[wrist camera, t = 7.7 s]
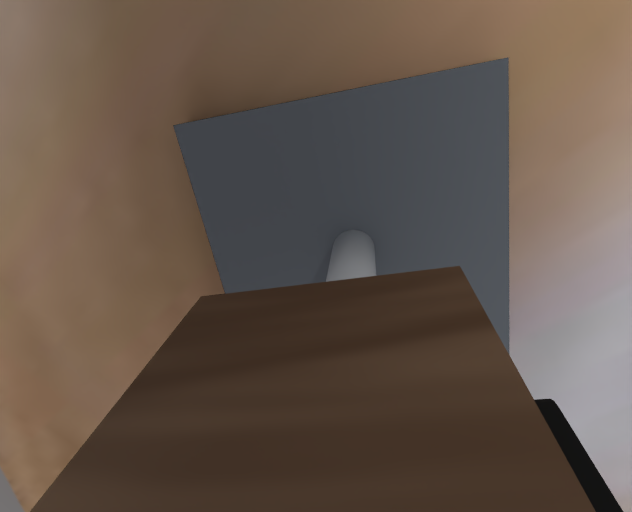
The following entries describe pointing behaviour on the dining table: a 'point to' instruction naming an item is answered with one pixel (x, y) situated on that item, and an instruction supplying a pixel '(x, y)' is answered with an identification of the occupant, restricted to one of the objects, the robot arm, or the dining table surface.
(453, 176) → the stand
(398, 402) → the wooden block stack
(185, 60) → the dining table surface
